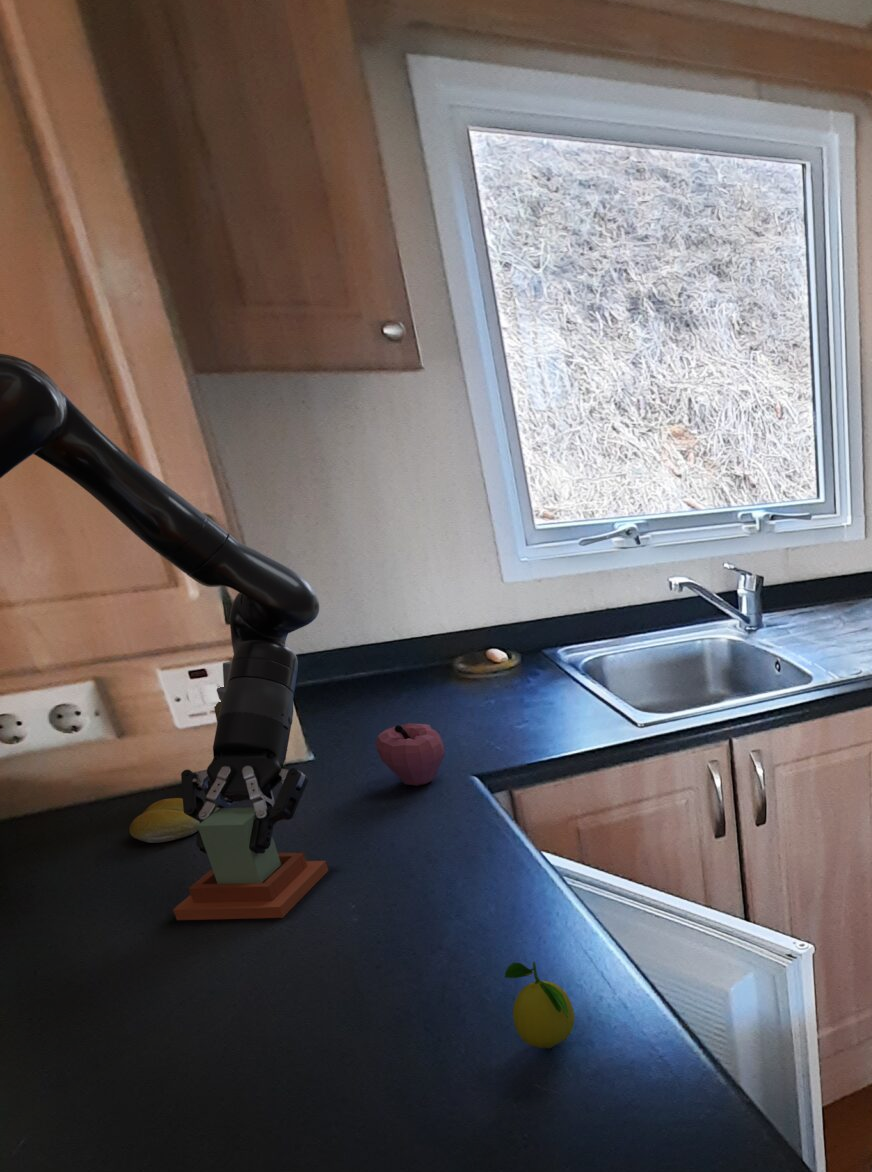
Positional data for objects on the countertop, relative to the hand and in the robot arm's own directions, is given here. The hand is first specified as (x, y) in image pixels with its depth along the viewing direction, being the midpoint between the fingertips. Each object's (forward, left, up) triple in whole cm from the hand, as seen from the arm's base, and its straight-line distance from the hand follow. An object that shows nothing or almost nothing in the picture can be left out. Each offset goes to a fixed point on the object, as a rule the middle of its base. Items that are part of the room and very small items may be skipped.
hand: (232, 851), depth 125 cm
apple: (+33, +17, -7) cm, 38 cm away
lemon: (+1, -54, -7) cm, 54 cm away
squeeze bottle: (+21, +39, -7) cm, 45 cm away
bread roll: (+4, +29, -7) cm, 30 cm away
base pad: (+1, +1, -7) cm, 7 cm away
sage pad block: (+1, +1, -4) cm, 5 cm away
